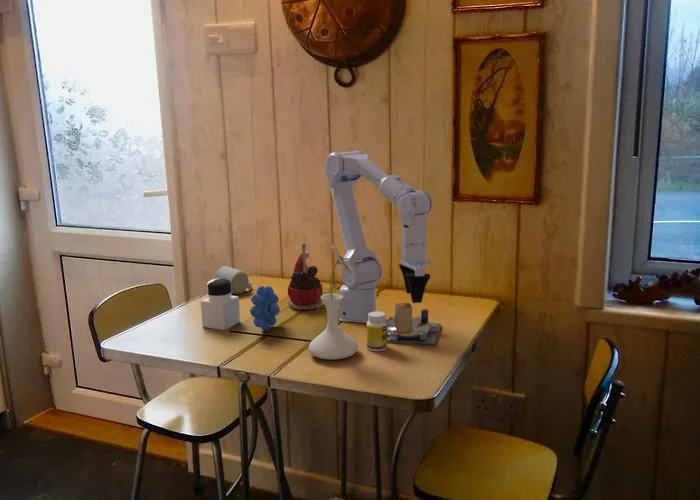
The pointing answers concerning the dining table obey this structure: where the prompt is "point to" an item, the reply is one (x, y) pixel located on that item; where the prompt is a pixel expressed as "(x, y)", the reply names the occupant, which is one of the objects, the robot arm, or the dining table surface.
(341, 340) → the flower in vase
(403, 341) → the base plate
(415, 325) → the sprocket
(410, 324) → the link block
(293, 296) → the cake
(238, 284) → the ceramic mug
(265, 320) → the grapes
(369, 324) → the supplement bottle
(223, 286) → the medicine bottle
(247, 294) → the dining table surface
